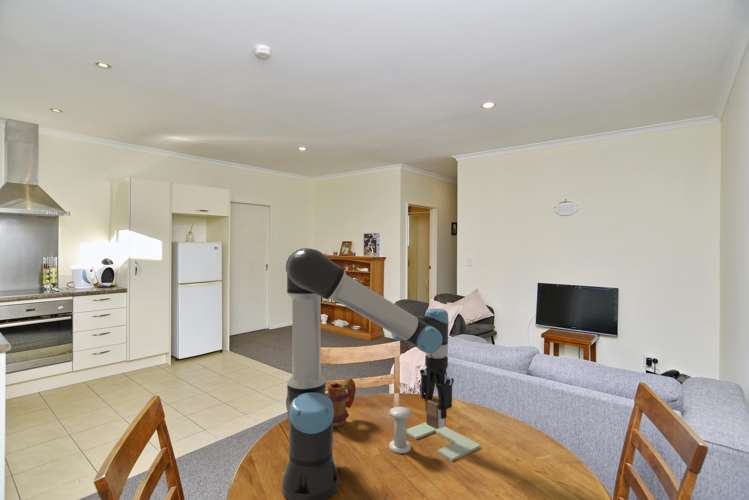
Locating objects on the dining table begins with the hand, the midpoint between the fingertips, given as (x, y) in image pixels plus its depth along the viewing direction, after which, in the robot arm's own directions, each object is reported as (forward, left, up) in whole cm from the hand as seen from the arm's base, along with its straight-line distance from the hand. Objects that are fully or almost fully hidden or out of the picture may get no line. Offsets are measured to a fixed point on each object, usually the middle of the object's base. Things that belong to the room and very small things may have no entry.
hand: (435, 424), depth 127 cm
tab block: (0, 0, 0) cm, 0 cm away
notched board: (+3, 0, -6) cm, 7 cm away
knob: (-12, +4, -6) cm, 14 cm away
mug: (-18, +31, -6) cm, 37 cm away
